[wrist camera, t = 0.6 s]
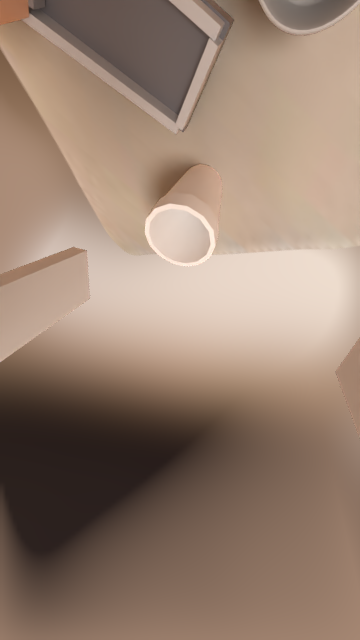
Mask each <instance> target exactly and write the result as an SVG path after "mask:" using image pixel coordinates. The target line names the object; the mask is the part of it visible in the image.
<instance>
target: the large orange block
mask: <svg viewBox="0 0 360 640" xmlns="http://www.w3.org/2000/svg"><path fill="white" fill-rule="evenodd" d="M29 7H31V8H32V9H33V10H35V9H39V8H43V7H45V0H0V25H2V24H6V23H10V22H13V21H17V20H21V19H25V18H28V17H29Z"/></svg>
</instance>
